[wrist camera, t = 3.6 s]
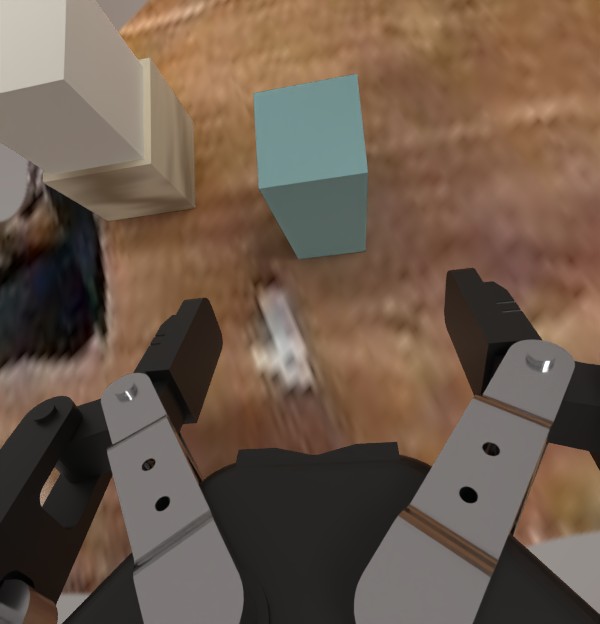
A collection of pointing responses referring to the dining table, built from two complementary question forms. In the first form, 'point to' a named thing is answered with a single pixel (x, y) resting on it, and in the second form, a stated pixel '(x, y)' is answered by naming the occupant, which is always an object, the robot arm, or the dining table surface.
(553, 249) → the dining table surface
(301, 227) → the teal block
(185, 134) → the beech block
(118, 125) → the cream block
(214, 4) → the dining table surface
